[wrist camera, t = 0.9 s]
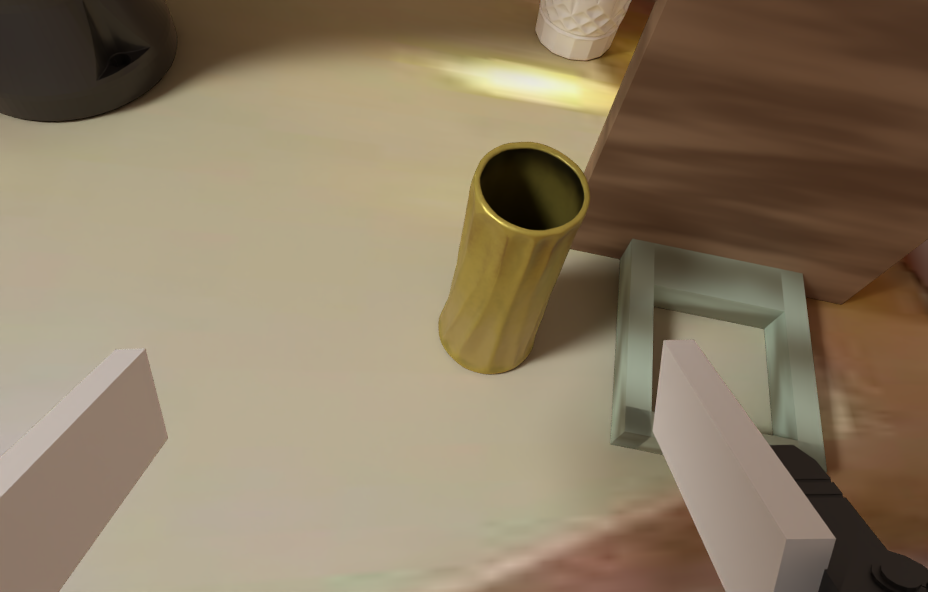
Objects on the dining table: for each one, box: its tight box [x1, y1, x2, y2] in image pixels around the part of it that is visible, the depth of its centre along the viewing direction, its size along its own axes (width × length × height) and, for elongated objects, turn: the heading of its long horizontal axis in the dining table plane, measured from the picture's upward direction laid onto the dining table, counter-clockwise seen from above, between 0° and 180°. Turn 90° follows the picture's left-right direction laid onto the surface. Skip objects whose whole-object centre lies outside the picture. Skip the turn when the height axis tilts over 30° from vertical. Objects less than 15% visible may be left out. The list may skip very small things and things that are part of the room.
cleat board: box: [570, 0, 928, 472], centre depth 30 cm, size 15×20×24 cm
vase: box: [439, 142, 590, 374], centre depth 34 cm, size 6×6×14 cm
